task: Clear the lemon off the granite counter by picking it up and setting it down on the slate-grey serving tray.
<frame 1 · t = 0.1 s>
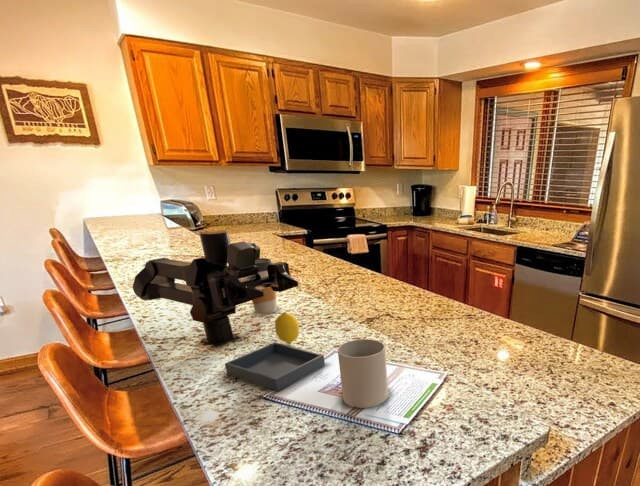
hand: (280, 288, 89), 17 cm above the countertop, tool horizontal, fingers open, 9 cm apart
lemon: (290, 344, 105), on the countertop
cup: (365, 397, 81), on the countertop
tray: (277, 369, 91), on the countertop
coffee cup: (266, 311, 129), on the countertop
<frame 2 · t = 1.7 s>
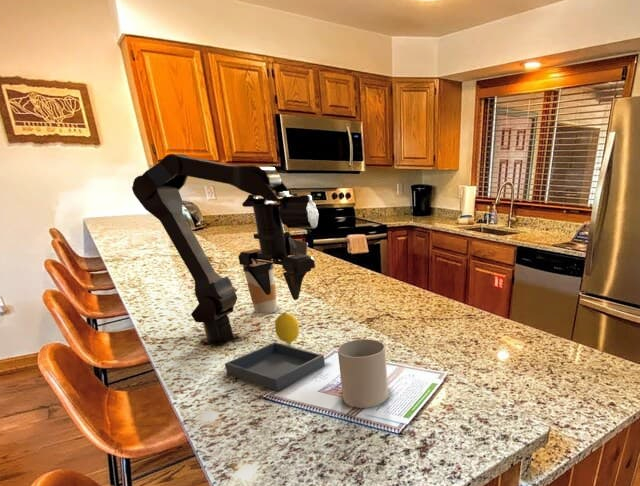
hand: (282, 297, 100), 12 cm above the countertop, tool pointing down, fingers open, 9 cm apart
nothing on the countertop moved.
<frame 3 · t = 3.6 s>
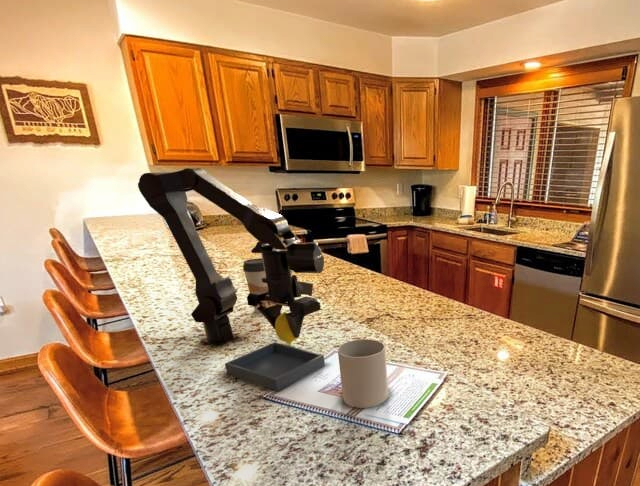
hand: (288, 335, 104), 2 cm above the countertop, tool pointing down, fingers closed on lemon, 5 cm apart
lemon: (290, 344, 105), on the countertop, touching gripper
everything else where it was.
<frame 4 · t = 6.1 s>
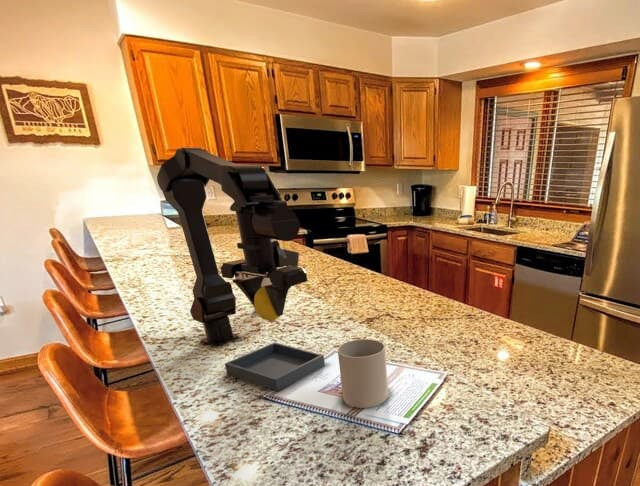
hand: (270, 313, 89), 12 cm above the countertop, tool pointing down, fingers closed on lemon, 5 cm apart
lemon: (272, 323, 90), point 10 cm above the countertop, touching gripper
everything else where it was.
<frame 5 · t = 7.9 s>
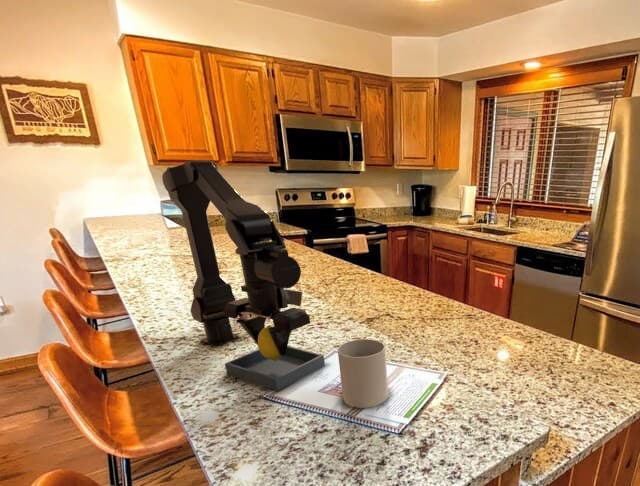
hand: (273, 352, 90), 4 cm above the countertop, tool pointing down, fingers closed on lemon, 5 cm apart
lemon: (275, 361, 91), point 2 cm above the countertop, touching gripper
everything else where it was.
when the fingers open (3 cm above the countertop, at t = 8.9 s): lemon stays where it is, resting on tray.
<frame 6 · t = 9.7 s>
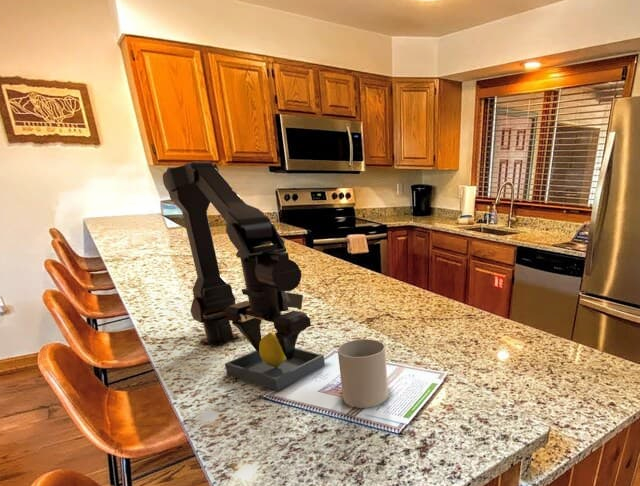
hand: (274, 355, 90), 3 cm above the countertop, tool pointing down, fingers open, 9 cm apart
lemon: (276, 368, 91), resting on tray
everything else where it was.
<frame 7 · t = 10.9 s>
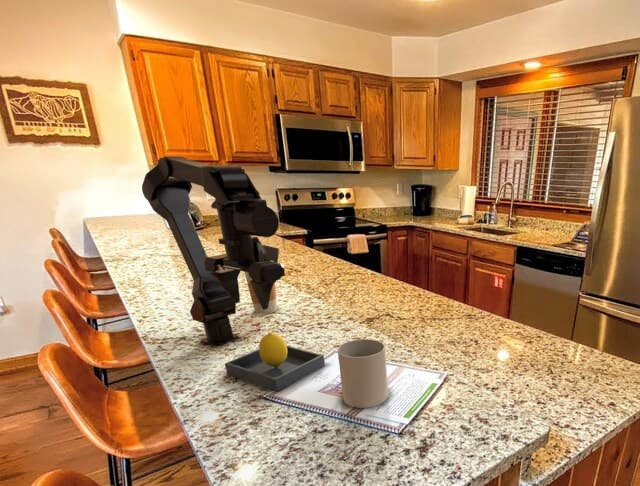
hand: (251, 305, 94), 12 cm above the countertop, tool pointing down, fingers open, 9 cm apart
nothing on the countertop moved.
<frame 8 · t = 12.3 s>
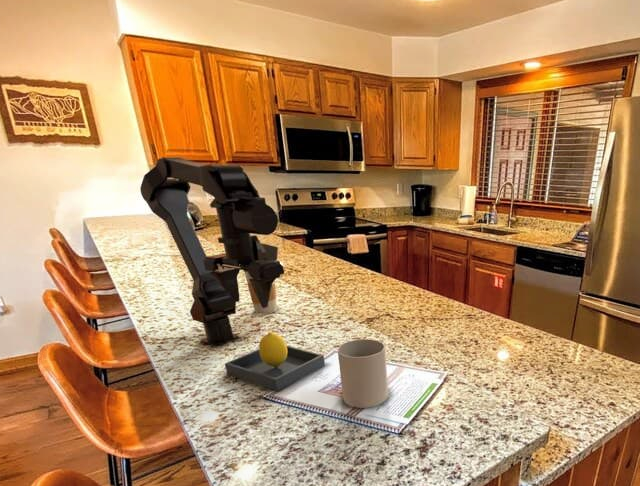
hand: (250, 304, 94), 12 cm above the countertop, tool pointing down, fingers open, 9 cm apart
nothing on the countertop moved.
at the end: lemon inside the target area in the tray (0.1 cm from its centre), point 0.3 cm above the tray's base; the gripper is holding nothing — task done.
